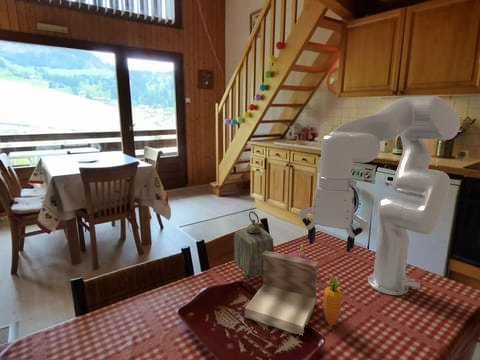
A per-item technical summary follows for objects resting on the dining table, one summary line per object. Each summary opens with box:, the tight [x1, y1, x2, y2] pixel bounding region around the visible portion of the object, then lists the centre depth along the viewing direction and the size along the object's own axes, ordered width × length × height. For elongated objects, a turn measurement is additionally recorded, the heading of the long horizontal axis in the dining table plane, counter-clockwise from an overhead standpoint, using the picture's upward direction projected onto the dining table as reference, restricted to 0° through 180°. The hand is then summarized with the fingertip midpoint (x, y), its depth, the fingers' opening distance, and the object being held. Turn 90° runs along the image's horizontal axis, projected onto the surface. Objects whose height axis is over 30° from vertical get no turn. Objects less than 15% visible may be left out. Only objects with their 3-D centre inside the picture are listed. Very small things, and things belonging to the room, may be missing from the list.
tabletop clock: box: [233, 210, 275, 281], centre depth 105 cm, size 14×9×25 cm, turn 25°
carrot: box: [322, 274, 344, 327], centre depth 82 cm, size 5×5×15 cm
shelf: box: [244, 250, 319, 337], centre depth 89 cm, size 17×16×15 cm
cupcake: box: [287, 243, 309, 260], centre depth 112 cm, size 9×8×12 cm
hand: (329, 246), depth 79 cm, fingers open, 9 cm apart
